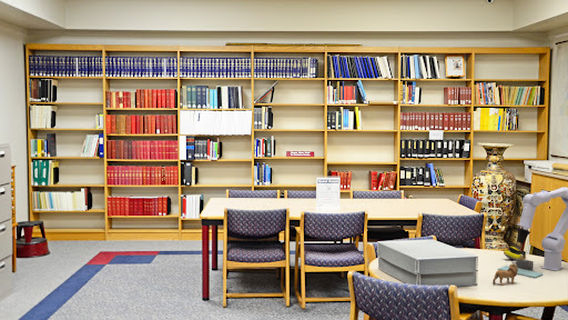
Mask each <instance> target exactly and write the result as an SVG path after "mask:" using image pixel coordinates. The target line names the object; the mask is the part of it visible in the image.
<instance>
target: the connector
mask: <svg viewBox="0 0 568 320" xmlns="http://www.w3.org/2000/svg"><path fill="white" fill-rule="evenodd" d="M511 264H516V265H517V267H518V268H520V269H525V270H529V271H534V261H532V260H529V259H516V261H515V260H512V261H511Z"/></svg>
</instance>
